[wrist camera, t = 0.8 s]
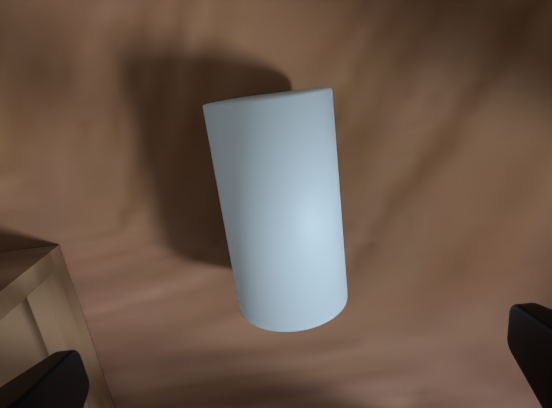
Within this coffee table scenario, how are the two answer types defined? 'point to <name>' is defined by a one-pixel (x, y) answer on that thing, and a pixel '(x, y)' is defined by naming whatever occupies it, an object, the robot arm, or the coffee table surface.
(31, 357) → the holder
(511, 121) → the coffee table surface
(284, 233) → the roll
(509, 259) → the coffee table surface
